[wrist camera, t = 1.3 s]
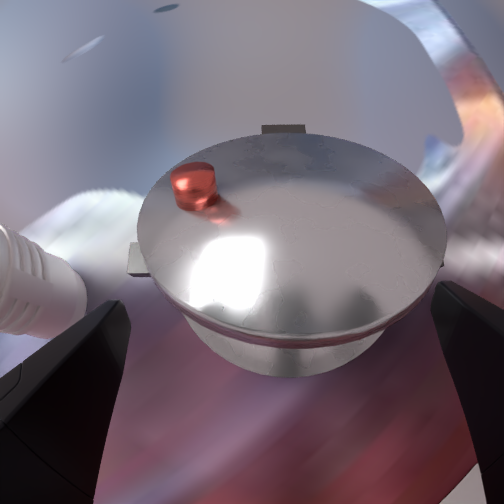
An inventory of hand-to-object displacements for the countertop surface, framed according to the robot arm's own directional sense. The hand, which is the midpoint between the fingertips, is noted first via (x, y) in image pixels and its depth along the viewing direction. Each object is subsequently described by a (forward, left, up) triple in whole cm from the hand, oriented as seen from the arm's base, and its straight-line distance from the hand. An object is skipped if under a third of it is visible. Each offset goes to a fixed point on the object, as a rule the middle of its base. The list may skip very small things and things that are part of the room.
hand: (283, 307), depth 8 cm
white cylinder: (+15, +10, -14) cm, 23 cm away
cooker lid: (+3, -5, -6) cm, 8 cm away
